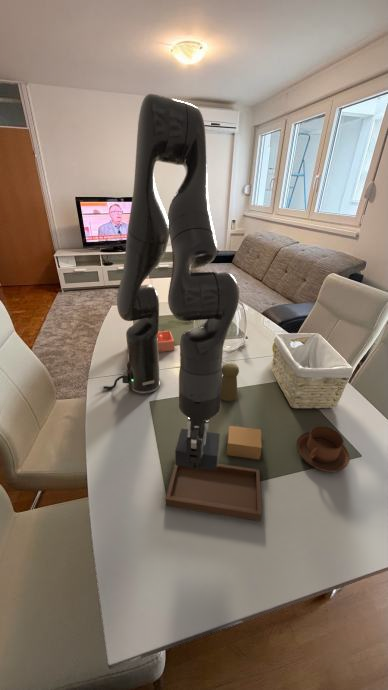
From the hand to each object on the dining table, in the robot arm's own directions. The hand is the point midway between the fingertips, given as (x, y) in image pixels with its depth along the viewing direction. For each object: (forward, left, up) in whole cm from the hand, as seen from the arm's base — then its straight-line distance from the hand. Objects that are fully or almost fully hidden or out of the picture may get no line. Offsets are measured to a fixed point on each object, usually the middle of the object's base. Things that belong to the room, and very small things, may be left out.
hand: (197, 453), depth 60 cm
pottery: (-28, +60, -10) cm, 67 cm away
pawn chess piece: (+5, +34, -10) cm, 36 cm away
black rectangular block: (0, 0, -1) cm, 1 cm away
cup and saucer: (+29, +14, -10) cm, 34 cm away
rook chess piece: (+8, +69, -10) cm, 70 cm away
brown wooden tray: (+4, 0, -10) cm, 11 cm away
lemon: (+23, +62, -10) cm, 67 cm away
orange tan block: (+10, +13, -10) cm, 19 cm away
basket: (+29, +42, -10) cm, 52 cm away
